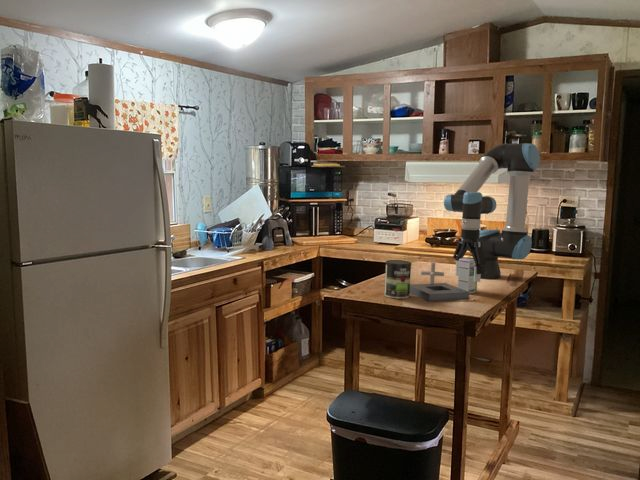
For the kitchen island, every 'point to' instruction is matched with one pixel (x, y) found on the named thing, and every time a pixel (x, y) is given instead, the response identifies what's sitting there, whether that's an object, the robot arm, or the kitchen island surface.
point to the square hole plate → (438, 292)
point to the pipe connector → (432, 273)
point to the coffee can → (397, 279)
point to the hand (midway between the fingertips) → (467, 278)
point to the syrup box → (467, 275)
